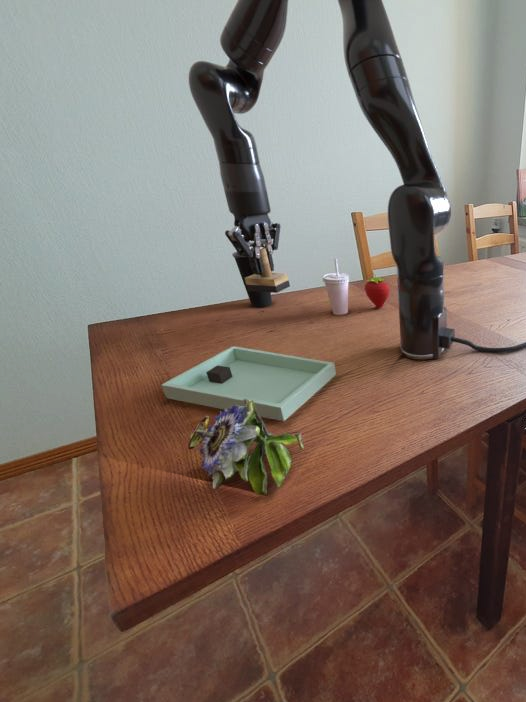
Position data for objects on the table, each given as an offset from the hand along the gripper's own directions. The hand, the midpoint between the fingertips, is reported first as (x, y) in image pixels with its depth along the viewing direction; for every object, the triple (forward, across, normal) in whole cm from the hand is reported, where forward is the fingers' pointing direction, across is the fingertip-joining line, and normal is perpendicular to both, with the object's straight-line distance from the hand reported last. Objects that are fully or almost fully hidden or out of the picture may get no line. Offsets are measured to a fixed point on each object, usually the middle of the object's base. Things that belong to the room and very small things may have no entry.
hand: (264, 272), depth 84 cm
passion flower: (+13, -41, -29) cm, 52 cm away
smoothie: (+13, +12, -10) cm, 20 cm away
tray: (+13, -25, -16) cm, 32 cm away
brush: (+4, 0, 0) cm, 4 cm away
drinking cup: (+13, +10, +12) cm, 20 cm away
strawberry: (+13, +18, -18) cm, 28 cm away
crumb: (+12, -25, -9) cm, 29 cm away
